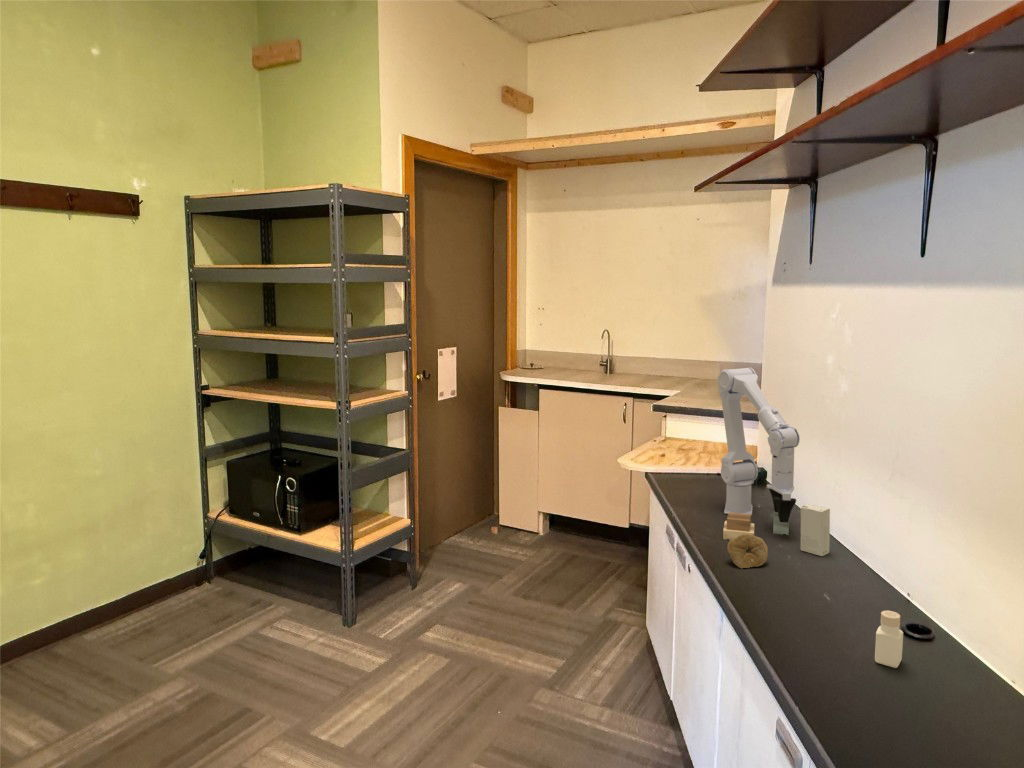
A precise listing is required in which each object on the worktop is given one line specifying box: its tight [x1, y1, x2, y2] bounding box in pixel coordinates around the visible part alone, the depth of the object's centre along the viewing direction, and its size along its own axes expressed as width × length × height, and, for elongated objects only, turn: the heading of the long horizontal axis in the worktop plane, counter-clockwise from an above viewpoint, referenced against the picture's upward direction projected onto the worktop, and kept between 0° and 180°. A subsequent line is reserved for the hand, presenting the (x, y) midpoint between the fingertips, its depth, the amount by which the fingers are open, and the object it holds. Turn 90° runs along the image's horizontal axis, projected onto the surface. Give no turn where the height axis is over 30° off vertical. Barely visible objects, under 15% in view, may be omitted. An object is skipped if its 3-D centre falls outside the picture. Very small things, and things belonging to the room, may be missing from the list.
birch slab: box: [722, 520, 755, 541], centre depth 199 cm, size 8×8×3 cm
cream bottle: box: [874, 610, 904, 669], centre depth 133 cm, size 4×4×10 cm
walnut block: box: [726, 512, 752, 532], centre depth 199 cm, size 6×6×3 cm
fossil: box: [726, 534, 769, 569], centre depth 181 cm, size 9×4×10 cm
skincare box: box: [800, 503, 831, 557], centre depth 186 cm, size 6×4×12 cm
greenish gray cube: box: [772, 511, 790, 536], centre depth 201 cm, size 4×4×5 cm
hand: (781, 517), depth 201 cm, fingers open, 7 cm apart
